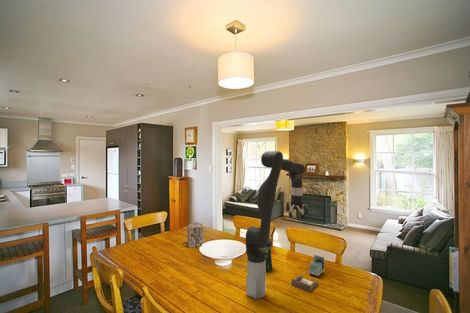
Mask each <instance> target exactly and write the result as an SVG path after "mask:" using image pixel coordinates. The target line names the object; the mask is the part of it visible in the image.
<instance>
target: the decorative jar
mask: <svg viewBox="0 0 470 313" xmlns="http://www.w3.org/2000/svg"><path fill="white" fill-rule="evenodd" d="M204 230H205V229H204V224H202V223H200V222H199V221H192V222H191V223H189V224H188V225H187V236H186V237H187V246H188V248H189V247H192V248H196V247H195V246H200V245H202V244H203V243H204V242H205V238H204V237H205V233H204V232H205V231H204Z"/></svg>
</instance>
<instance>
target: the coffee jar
mask: <svg viewBox="0 0 470 313" xmlns="http://www.w3.org/2000/svg"><path fill="white" fill-rule="evenodd" d="M272 242H273V241H272V239H271V238H269V241H268V244H267V246H266V247H265V248H260V249H261V250H262V251H263V252H264V253H265V256H266V272H271V271H272V270H273V261H272V260H273V259H272V248H273V243H272Z"/></svg>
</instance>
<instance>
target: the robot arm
mask: <svg viewBox="0 0 470 313" xmlns="http://www.w3.org/2000/svg"><path fill="white" fill-rule="evenodd" d="M260 161H261V164H262V166H263V167H265V168H269V169H271V170H270V173H269V175H268V176H267V177H266V179H265V180H264V181H263V183H262V184H261V185H260V186H259V188H258V192H257V197H256V205H257V208H258V211H259V215H260V226H259V227H257V226H250V227H248V228H247V230H246V231H245V253H246V257H247V270H246V271H247V275H246V278H245V280H246V281H245V282H246V291H245V292H246V293H245V294H246V296H249V297H251V298H252V299H253V300H254V299H255V300H258V299H262V298H264V297H265V296H266V294H267V292H266V289H267V288H266V287H267V286H266V280H267V279H266V275H267V274H266V273H267V271H266V256H265V253H264V252H263V251H262V250H261V249H260V248H265V247H266V246H267V244H268V241H269V239H270V234H271V232H270V231H271V226H272V225H271V222H272V214H273V210H274V205H275V200H276V196H277V195H276V193H277V188H278V183H279V178H280V174H281V171H284V172H287V173H288V174H289V177H290V182H291V183H290V184H291V187H290V188H291V190H290V201H287V202H286V209H285V210H286V211H287V212H288V217H289V218H290V219H293V211H294V210H295V211H299V212H300V213H301V221H304V220H306V215H307V214H309V207H308V206H309V205H308V204H307V203H305V204H304V201H303V200H304V198H303V197H304V192H303V179H302V178H299V177H297V175H298V176H300V175H301V176H302V175H304V174H305V172H306V167H305V165H304V164H303V163H298V162H293V161H292V160H289V159H284V155H283V153H282V152H281V151H278V150H274V151H273V150H272V151H271V150H270V151H264V152H263V153H262V154H261V157H260Z"/></svg>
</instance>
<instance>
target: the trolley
mask: <svg viewBox="0 0 470 313" xmlns="http://www.w3.org/2000/svg"><path fill="white" fill-rule="evenodd" d="M324 271H325V257H323V256H320V255H317V254H314V255H313V260H312V261H311V262H310V263H309V270H308V274H309V275H310V276H312V275H314V276H316V277H317V278H320V275H321V274H324Z"/></svg>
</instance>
